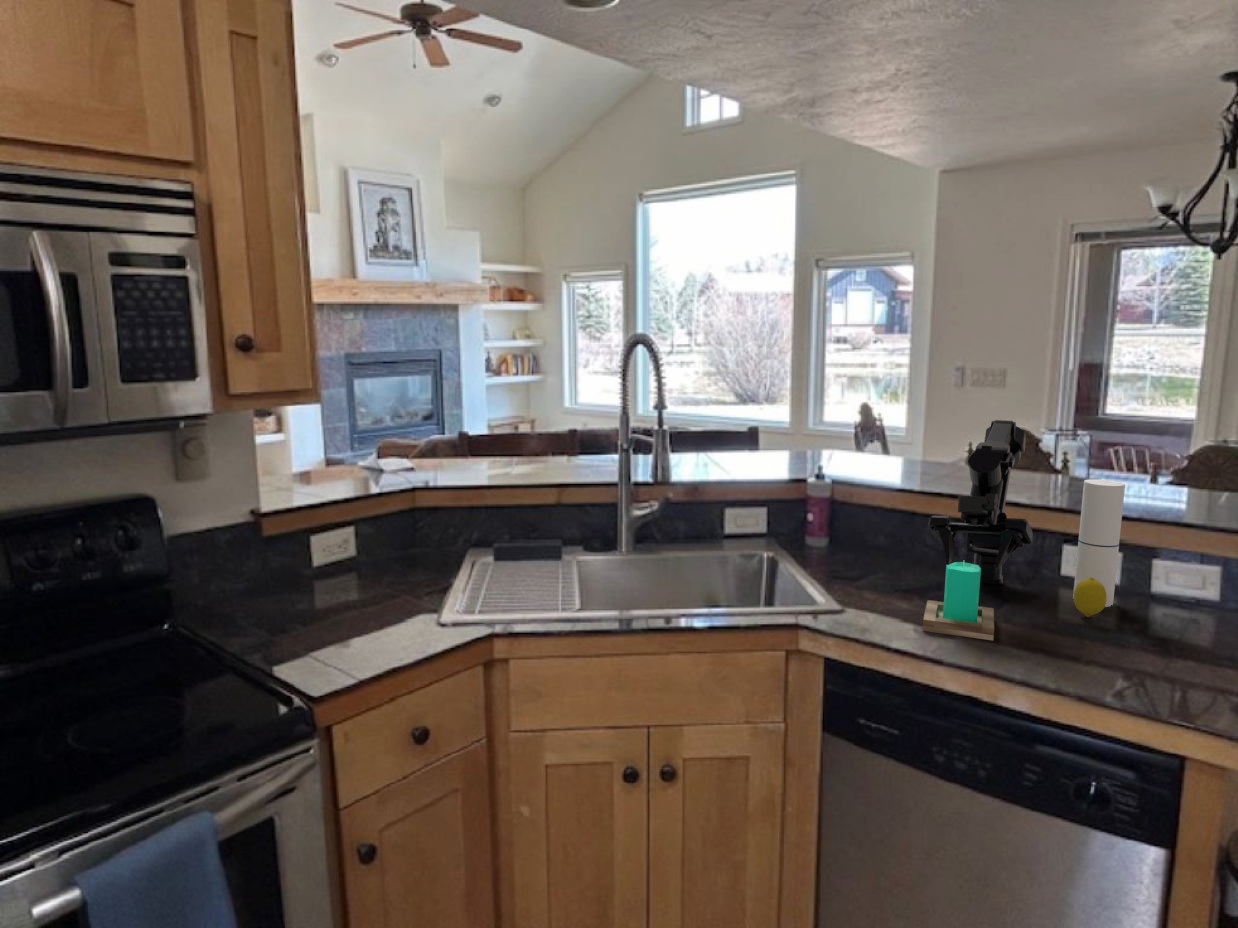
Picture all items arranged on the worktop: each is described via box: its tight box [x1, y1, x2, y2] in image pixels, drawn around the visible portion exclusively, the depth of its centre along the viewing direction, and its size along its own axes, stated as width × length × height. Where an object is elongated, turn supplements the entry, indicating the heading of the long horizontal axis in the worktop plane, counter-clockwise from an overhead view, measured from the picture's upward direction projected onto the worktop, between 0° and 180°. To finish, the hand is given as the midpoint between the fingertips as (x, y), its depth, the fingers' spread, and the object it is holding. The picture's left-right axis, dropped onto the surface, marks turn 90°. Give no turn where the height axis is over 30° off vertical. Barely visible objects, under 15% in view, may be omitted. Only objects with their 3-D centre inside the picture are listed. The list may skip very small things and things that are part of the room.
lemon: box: [1073, 577, 1106, 618], centre depth 157 cm, size 6×6×8 cm
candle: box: [943, 561, 981, 623], centre depth 153 cm, size 6×6×12 cm
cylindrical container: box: [1072, 478, 1126, 608], centre depth 165 cm, size 7×7×25 cm
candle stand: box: [922, 599, 995, 642], centre depth 154 cm, size 12×12×2 cm
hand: (972, 566), depth 159 cm, fingers open, 9 cm apart
